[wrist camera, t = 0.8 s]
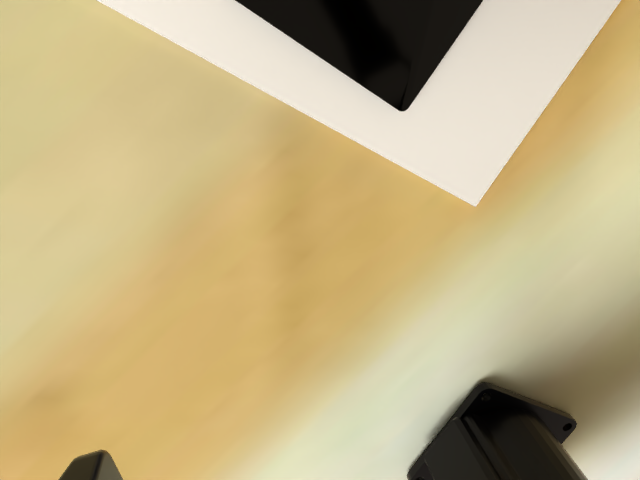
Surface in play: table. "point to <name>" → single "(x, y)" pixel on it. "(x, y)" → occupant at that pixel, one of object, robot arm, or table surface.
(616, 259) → the table surface
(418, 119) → the letter tile
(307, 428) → the table surface
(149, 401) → the table surface
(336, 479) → the table surface
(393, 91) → the black stand
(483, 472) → the robot arm
